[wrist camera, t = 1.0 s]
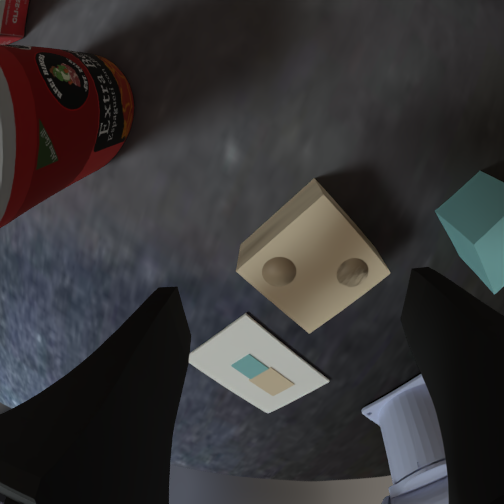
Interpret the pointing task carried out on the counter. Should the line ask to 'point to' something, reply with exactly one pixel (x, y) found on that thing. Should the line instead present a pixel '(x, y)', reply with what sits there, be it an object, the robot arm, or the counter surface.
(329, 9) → the counter surface
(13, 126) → the canned food
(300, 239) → the oak base brick
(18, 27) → the ink box
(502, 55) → the counter surface
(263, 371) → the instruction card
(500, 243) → the teal brick
